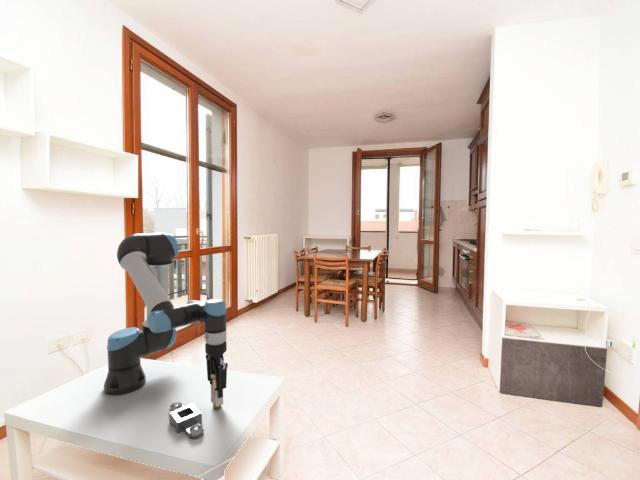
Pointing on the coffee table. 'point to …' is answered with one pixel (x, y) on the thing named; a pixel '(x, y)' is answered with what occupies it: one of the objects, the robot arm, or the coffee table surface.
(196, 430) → the chain ends
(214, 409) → the pin
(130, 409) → the coffee table surface
